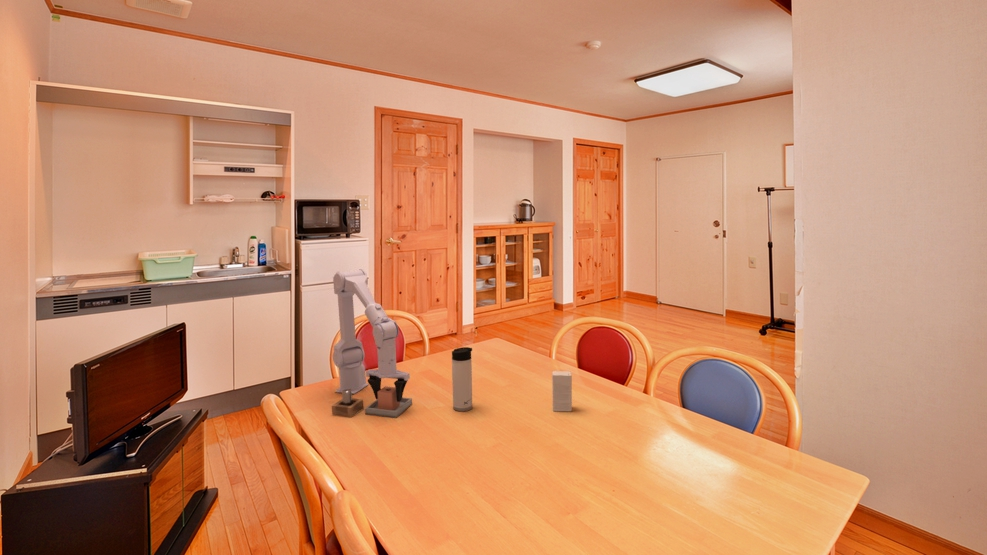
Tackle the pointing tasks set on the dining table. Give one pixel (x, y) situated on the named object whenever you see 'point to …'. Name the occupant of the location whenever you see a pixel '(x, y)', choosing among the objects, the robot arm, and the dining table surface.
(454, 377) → the travel mug
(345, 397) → the cylinder
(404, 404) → the tray
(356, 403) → the brown square frame
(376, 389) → the robot arm
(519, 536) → the dining table surface
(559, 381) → the skincare box
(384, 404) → the block
